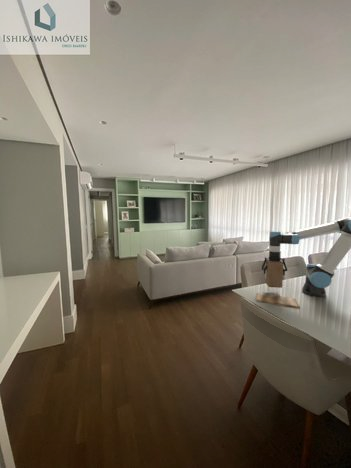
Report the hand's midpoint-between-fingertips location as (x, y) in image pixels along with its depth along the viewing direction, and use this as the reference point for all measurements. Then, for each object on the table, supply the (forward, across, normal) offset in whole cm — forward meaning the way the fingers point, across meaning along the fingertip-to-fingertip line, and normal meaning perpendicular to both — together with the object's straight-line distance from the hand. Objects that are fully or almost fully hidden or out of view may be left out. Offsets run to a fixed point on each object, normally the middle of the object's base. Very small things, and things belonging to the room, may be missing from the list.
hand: (273, 278), depth 151 cm
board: (+11, -1, +15) cm, 19 cm away
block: (+6, 0, 0) cm, 6 cm away
